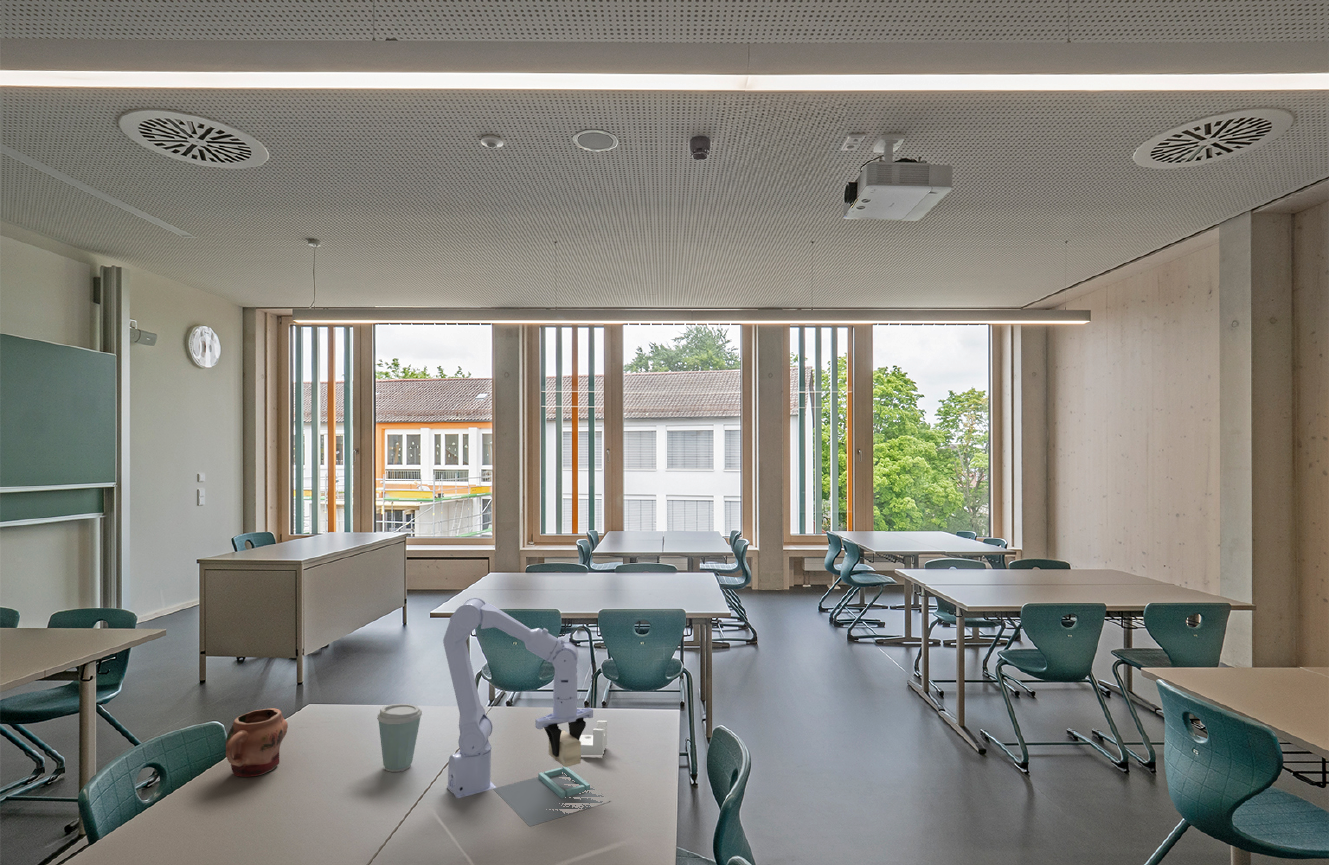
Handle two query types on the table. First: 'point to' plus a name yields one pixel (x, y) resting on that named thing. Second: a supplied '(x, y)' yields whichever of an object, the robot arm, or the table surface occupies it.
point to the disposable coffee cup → (398, 735)
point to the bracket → (595, 740)
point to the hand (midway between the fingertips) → (564, 753)
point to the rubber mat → (541, 799)
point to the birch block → (567, 750)
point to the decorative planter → (255, 742)
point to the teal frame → (559, 791)
